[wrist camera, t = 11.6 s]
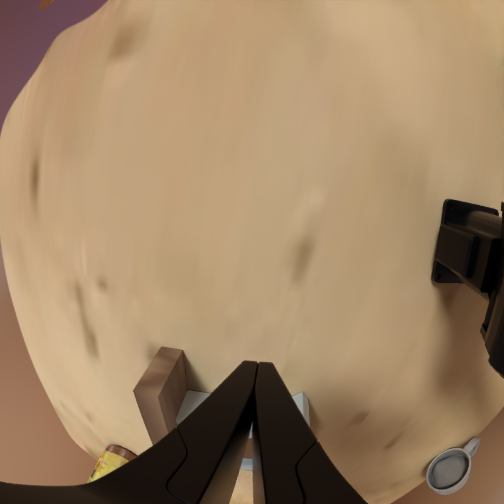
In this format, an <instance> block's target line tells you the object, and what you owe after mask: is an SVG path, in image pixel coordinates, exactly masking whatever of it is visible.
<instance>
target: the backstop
mask: <svg viewBox="0 0 504 504" xmlns="http://www.w3.org/2000/svg"><path fill="white" fill-rule="evenodd" d="M187 391H188V387H187V380H186V373H185V366H184V358H183V350H179V349H173V348H167V347H161V348H160V349H159V351H158V353H157V354H156V356H155V357H154V359H153V360H152V362H151V363H150V365H149V366H148V368H147V370H146V371H145V373H144V374H143V376H142V377H141V379H140V380H139V382H138V384H137V385H136V387H135V388H134V390H133V392H134V395H135V398H136V401H137V404H138V407H139V410H140V413H141V415H142V418H143V421H144V423H145V426H146V429H147V431H148V434H149V436H150V439H151V441H152V444H153V445H154V444H156V443H157V442H158V441H159V440H160V439H162V438H163V437H164V436H165V435H167V434H168V433H169V432H170V431H171V430H172V429H173V428H176V426H177V422H176V417H177V415H178V413H179V410H180V408H181V405H182V403H183V401H184V398H185V396H186V393H187Z"/></svg>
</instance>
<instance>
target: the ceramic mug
mask: <svg viewBox="0 0 504 504" xmlns="http://www.w3.org/2000/svg"><path fill="white" fill-rule="evenodd" d="M480 442H481V440H480V439H479V438H477V437H474V438H472V439H471V440H470V441H469V442H468V444H467V445H466V446H465V447H464V448H463V449H462V448H451V449H448V450H446V451H444V452H442V453H440V454H439V455H438V456H436V457H435V458H434V460H433V461H432V462H431V463H430V465H429V467H428V470H427V473H426V481H427V484H428V486H429V487H430V488H431V489H433V490H434V491H435V492H436V493H438V494H442V495H445V494H451V493H453V492H455V491H457V490H458V489H460V488H461V487H462V486H463V485H464V484H465V483H466V481H467V479H468V477H469V475H470V469H471V457H472V456H473V455H474V453H475V452H476V450H477V449H478V447H479V445H480Z"/></svg>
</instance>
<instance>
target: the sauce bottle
mask: <svg viewBox="0 0 504 504" xmlns="http://www.w3.org/2000/svg"><path fill="white" fill-rule="evenodd" d="M135 457H137V456H135V455H134V454H133V453H132V452H130V451H128V450H126V449H124V448H122V447H119V446H117V445H109V446H108V447H107V448H106V450H105V451H104V452H103V453H102V455H101V457H100V459H99V460H98V462H97V464H96V466H95V468H94V470H93V471H92V473H91V475H90V477H89V479H88V481H87V483H89V482H91V481H94V480H96V479H99V478H101V477H102V476H104V475H106V474H108V473H110V472H111V471H113V470H115V469H117V468H118V467H120V466H122V465H124V464H125V463H127V462H129V461H130V460H132V459H134V458H135Z"/></svg>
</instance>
